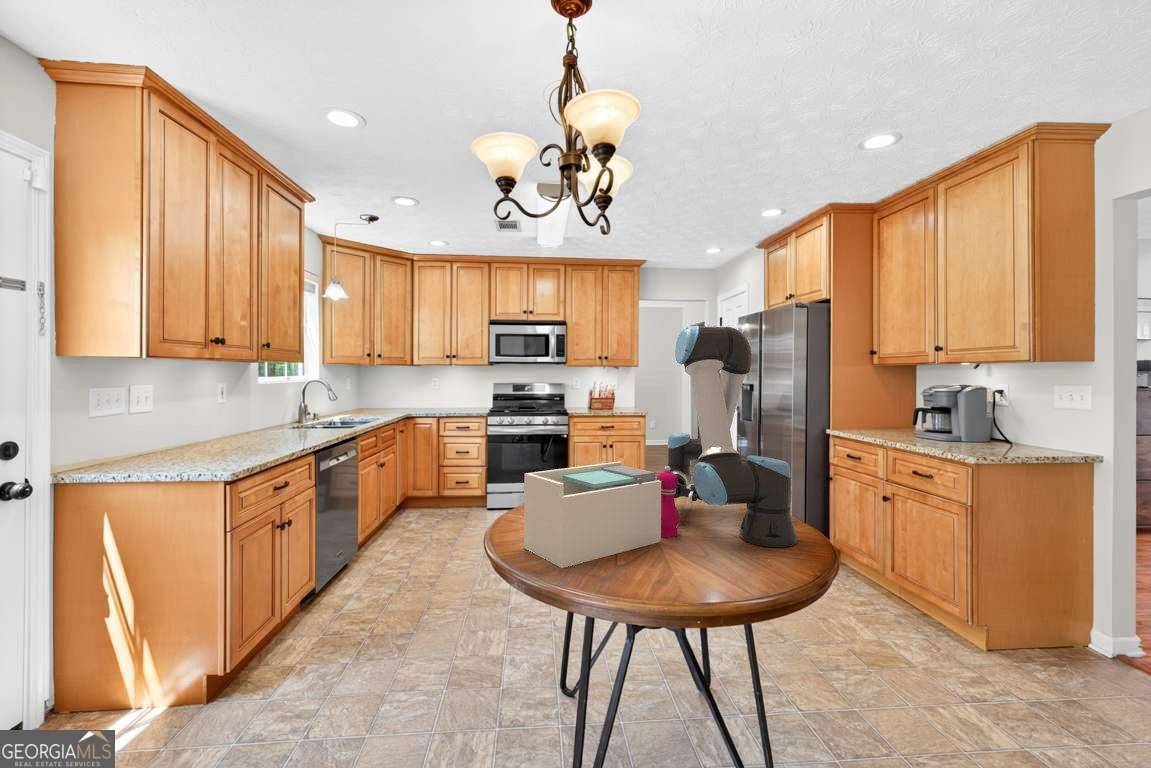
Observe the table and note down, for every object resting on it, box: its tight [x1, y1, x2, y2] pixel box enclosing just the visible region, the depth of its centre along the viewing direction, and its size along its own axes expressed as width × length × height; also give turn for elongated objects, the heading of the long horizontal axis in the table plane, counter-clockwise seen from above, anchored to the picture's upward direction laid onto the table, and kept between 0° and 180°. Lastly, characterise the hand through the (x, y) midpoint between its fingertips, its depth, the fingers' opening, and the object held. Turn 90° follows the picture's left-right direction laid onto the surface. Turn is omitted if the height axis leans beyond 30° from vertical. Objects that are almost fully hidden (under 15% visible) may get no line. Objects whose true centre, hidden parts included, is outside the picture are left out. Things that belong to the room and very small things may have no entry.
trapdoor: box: [563, 464, 656, 488], centre depth 142 cm, size 14×22×4 cm, turn 127°
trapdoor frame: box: [523, 461, 662, 569], centre depth 139 cm, size 19×34×20 cm, turn 127°
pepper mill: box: [656, 465, 680, 538], centre depth 148 cm, size 7×7×20 cm
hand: (665, 499), depth 146 cm, fingers open, 13 cm apart
